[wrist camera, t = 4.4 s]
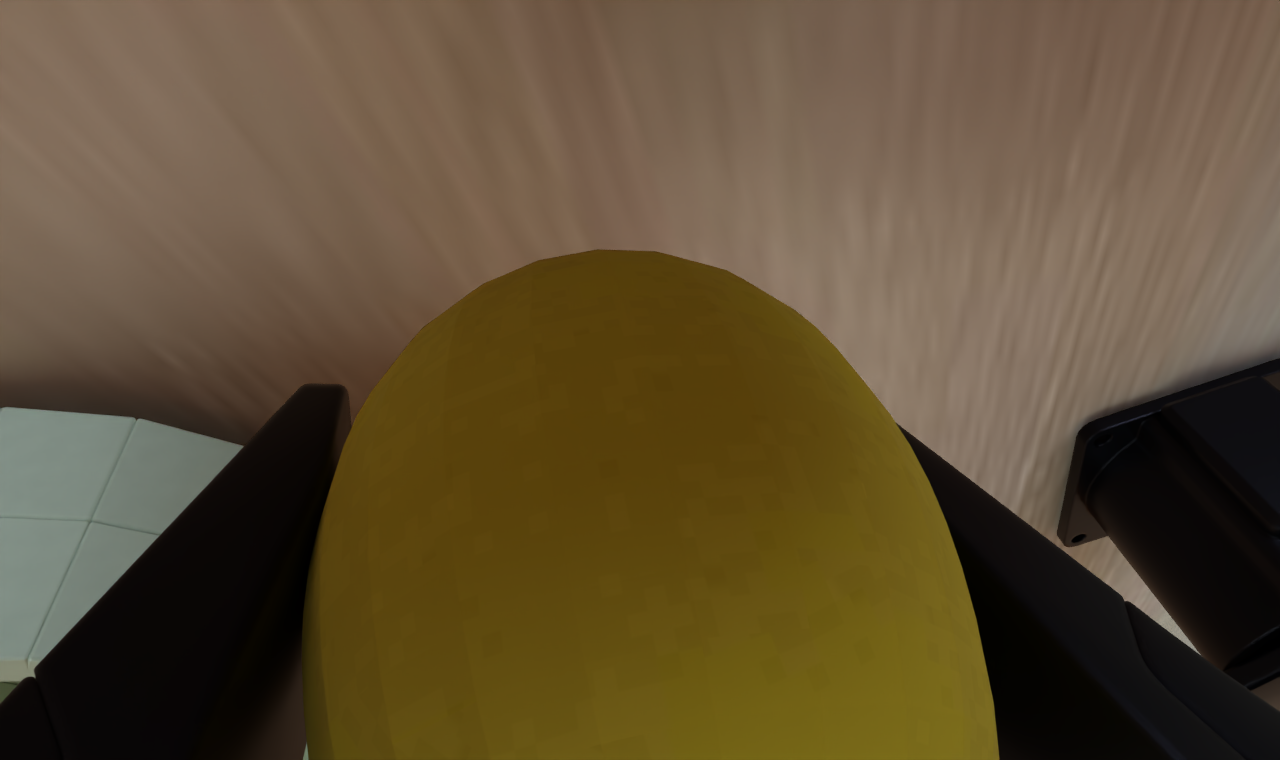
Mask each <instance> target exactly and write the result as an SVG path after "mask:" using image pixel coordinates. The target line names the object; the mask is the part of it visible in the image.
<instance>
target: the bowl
mask: <svg viewBox="0 0 1280 760" xmlns="http://www.w3.org/2000/svg"><path fill="white" fill-rule="evenodd" d="M243 447H244V446H242V445H239V444H235V443H231V442H227V441H224V440H220V439H216V438H212V437H209V436H205V435H201V434H198V433H194V432H190V431H186V430H183V429H179V428H175V427H171V426H168V425H164V424H160V423H156V422H153V421H149V420H145V419H138V420H136V419H135V418H133V417H125V416H113V415H101V414H88V413H76V412H64V411H52V410H40V409H28V408H16V407H3V408H0V703H1V702H2V701H3V700H4V699H5V698H6V697H7V696H8V695H9V694H10V692H11V691H12V690H13V689H14V688H15V687H16V686H17V685H18V684H19V683H20V682H21V681H22V680H23V679H24V678H26V677H29V676H32V677H35V674H34V668H35V667H36V666H37V665H38V664H39V662H40V661H41V660H42V659H43V658H44V657H45V656H46V655H47V654H48V653H49V652H50V651H51V650H52V649H53V648H54V647H55V646H56V644H57V643H58V642H59V641H60V640H61V639H62V638H63V637H64V636H65V635H66V634H67V633H68V632H69V631H70V630H71V629H72V628H73V627H74V625H75V624H76V623H77V622H78V621H79V620H80V619H81V618H82V617H83V616H84V615H85V614H86V613H87V612H88V611H89V610H90V609H91V607H92V606H93V605H94V604H95V603H96V602H97V601H98V600H99V599H100V598H101V597H102V596H103V595H104V594H105V593H106V592H107V591H108V590H109V588H110V587H111V586H112V585H113V584H114V583H115V582H116V581H117V580H118V579H119V578H120V577H121V576H122V575H123V574H124V573H125V572H126V570H127V569H128V568H129V567H130V566H131V565H132V564H133V563H134V562H135V561H136V560H137V559H138V558H139V557H140V556H141V555H142V554H143V553H144V551H145V550H146V549H147V548H148V547H149V546H150V545H151V544H152V543H153V542H154V541H155V540H156V539H157V538H158V537H159V536H160V535H161V534H162V532H163V531H164V530H165V529H166V528H167V527H168V526H169V525H170V524H171V523H172V522H173V521H174V520H175V519H176V518H177V517H178V516H179V514H180V513H181V512H182V511H183V510H184V509H185V508H186V507H187V506H188V505H189V504H190V503H191V502H192V501H193V500H194V499H195V498H196V497H197V495H198V494H199V493H200V492H201V491H202V490H203V489H204V488H205V487H206V486H207V485H208V484H209V483H210V482H211V481H212V480H213V479H214V477H215V476H216V475H217V474H218V473H219V472H220V471H221V470H222V469H223V468H224V467H225V466H226V465H227V464H228V463H229V462H230V461H231V460H232V458H233V457H234V456H235V455H236V454H237V453H238V452H239V451H240V450H241V449H242V448H243ZM303 760H309V758H308V748H307V744H306V749H305V753H304V758H303Z"/></svg>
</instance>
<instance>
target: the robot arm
mask: <svg viewBox="0 0 1280 760" xmlns="http://www.w3.org/2000/svg"><path fill="white" fill-rule="evenodd" d="M896 424H897V423H896ZM897 426H898V427H899V429H900V430H901V432H902V433H903V435H904V437H905V438H906V440H907V441H908V443H909V444H910V446H911V448H912V450H913V452H914V453H915V455H916V457H917V459H918V461H919V463H920V465H921V467H922V469H923V471H924V473H925V474H926V476H927V478H928V480H929V482H930V485H931V487H932V489H933V492H934V494H935V496H936V499H937V501H938V503H939V506H940V508H941V511H942V513H943V515H944V518H945V520H946V522H947V525H948V528H949V531H950V534H951V537H952V540H953V543H954V546H955V549H956V551H957V554H958V557H959V560H960V563H961V566H962V569H963V573H964V576H965V580H966V584H967V587H968V591H969V594H970V598H971V602H972V605H973V609H974V612H975V616H976V620H977V625H978V630H979V635H980V639H981V644H982V649H983V654H984V659H985V664H986V668H987V673H988V678H989V683H990V688H991V692H992V697H993V702H994V711H995V721H996V731H997V740H998V750H999V760H1280V358H1278V359H1275V360H1272V361H1269V362H1266V363H1263V364H1260V365H1257V366H1255V367H1252V368H1249V369H1246V370H1243V371H1240V372H1237V373H1234V374H1231V375H1228V376H1225V377H1222V378H1219V379H1216V380H1213V381H1210V382H1207V383H1204V384H1201V385H1198V386H1195V387H1192V388H1189V389H1186V390H1183V391H1180V392H1177V393H1174V394H1171V395H1168V396H1165V397H1162V398H1159V399H1156V400H1153V401H1150V402H1147V403H1144V404H1141V405H1138V406H1135V407H1132V408H1129V409H1126V410H1123V411H1120V412H1117V413H1114V414H1111V415H1108V416H1105V417H1102V418H1099V419H1096V420H1094V421H1092V422H1090V423H1088V424H1087V425H1085V426H1084V427H1083V428H1082V429H1081V430H1080V431H1079V432H1078V434H1077V437H1076V442H1075V447H1074V452H1073V457H1072V461H1071V466H1070V471H1069V476H1068V481H1067V486H1066V491H1065V496H1064V501H1063V506H1062V511H1061V516H1060V521H1059V525H1058V530H1057V536H1058V537H1059V539H1060V540H1061V541H1062V543H1063V544H1064V546H1066V547H1073V546H1078V545H1081V544H1084V543H1087V542H1090V541H1093V540H1096V539H1099V538H1102V537H1106V536H1109V538H1110V539H1111V540H1112V541H1113V543H1114V544H1115V545H1116V547H1117V548H1118V549H1119V550H1120V552H1121V553H1122V554H1123V556H1124V557H1125V558H1126V559H1127V561H1128V562H1129V563H1130V565H1131V566H1132V567H1133V568H1134V570H1135V571H1136V572H1137V574H1138V575H1139V576H1140V577H1141V579H1142V580H1143V581H1144V583H1145V584H1146V585H1147V586H1148V588H1149V589H1150V590H1151V592H1152V593H1153V594H1154V595H1155V597H1156V598H1157V599H1158V601H1159V602H1160V603H1161V604H1162V606H1163V607H1164V608H1165V610H1166V611H1167V612H1168V613H1169V615H1170V616H1171V617H1172V619H1173V620H1174V621H1175V622H1176V624H1177V625H1178V626H1179V627H1180V629H1181V630H1182V631H1183V633H1184V634H1185V635H1186V636H1187V638H1188V639H1189V640H1190V642H1191V643H1192V644H1193V645H1194V647H1195V648H1196V649H1197V651H1198V652H1199V653H1200V654H1201V655H1199V654H1198V653H1197V652H1195V651H1194V650H1193V649H1191V648H1190V647H1189V646H1187V645H1186V644H1185V643H1183V642H1182V641H1181V640H1179V639H1178V638H1177V637H1175V636H1174V635H1173V634H1171V633H1170V632H1168V631H1167V630H1166V629H1164V628H1163V627H1162V626H1160V625H1159V624H1158V623H1157V622H1155V621H1154V620H1153V619H1151V618H1150V617H1149V616H1148V615H1146V614H1145V613H1144V612H1142V611H1141V610H1140V609H1138V608H1137V607H1136V606H1135V605H1133V604H1132V603H1131V602H1128V601H1124V599H1123V597H1122V596H1121V595H1120V594H1119V593H1117V592H1116V591H1115V590H1113V589H1112V588H1111V587H1110V586H1108V585H1107V584H1106V583H1104V582H1103V581H1102V580H1100V579H1099V578H1098V577H1096V576H1095V575H1094V574H1093V573H1091V572H1090V571H1089V570H1087V569H1086V568H1085V567H1083V566H1082V565H1081V564H1079V563H1078V562H1077V561H1076V560H1074V559H1073V558H1072V557H1070V556H1069V555H1068V554H1066V553H1065V552H1064V551H1063V550H1061V549H1060V548H1059V547H1057V546H1056V545H1055V544H1053V543H1052V542H1051V541H1049V540H1048V539H1047V538H1046V537H1044V536H1043V535H1042V534H1040V533H1039V532H1038V531H1036V530H1035V529H1034V528H1033V527H1031V526H1030V525H1029V524H1027V523H1026V522H1025V521H1023V520H1022V519H1021V518H1019V517H1018V516H1017V515H1016V514H1014V513H1013V512H1012V511H1010V510H1009V509H1008V508H1006V507H1005V506H1004V505H1002V504H1001V503H1000V502H999V501H997V500H996V499H995V498H993V497H992V496H991V495H989V494H988V493H987V492H986V491H984V490H983V489H982V488H980V487H979V486H978V485H976V484H975V483H974V482H972V481H971V480H970V479H969V478H967V477H966V476H965V475H963V474H962V473H961V472H959V471H958V470H957V469H955V468H954V467H953V466H952V465H950V464H949V463H948V462H946V461H945V460H944V459H942V458H941V457H940V456H939V455H937V454H936V453H935V452H933V451H932V450H931V449H929V448H928V447H927V446H925V445H924V444H923V443H922V442H920V441H919V440H918V439H916V438H915V437H914V436H912V435H911V434H910V433H909V432H907V431H906V430H905V429H903V428H902V427H901V426H899V425H898V424H897ZM351 428H352V427H351V416H350V406H349V396H348V391H347V389H346V388H345V387H344V386H343V385H340V384H305V385H303V386H301V387H300V388H299V389H298V390H297V391H296V392H295V393H294V394H293V395H292V396H291V397H290V398H289V399H288V400H287V401H286V402H285V404H284V405H283V406H282V407H281V408H280V409H279V410H278V411H277V412H276V413H275V414H274V415H273V416H272V417H271V418H270V419H269V420H268V421H267V423H266V424H265V425H264V426H263V427H262V428H261V429H260V430H259V431H258V432H257V433H256V434H255V435H254V436H253V437H252V438H251V439H250V440H249V442H248V443H247V444H246V445H245V446H244V447H243V448H242V449H241V450H240V451H239V452H238V453H237V454H236V455H235V456H234V457H233V458H232V460H231V461H230V462H229V463H228V464H227V465H226V466H225V467H224V468H223V469H222V470H221V471H220V472H219V473H218V474H217V475H216V476H215V477H214V479H213V480H212V481H211V482H210V483H209V484H208V485H207V486H206V487H205V488H204V489H203V490H202V491H201V492H200V493H199V494H198V495H197V497H196V498H195V499H194V500H193V501H192V502H191V503H190V504H189V505H188V506H187V507H186V508H185V509H184V510H183V511H182V512H181V513H180V514H179V516H178V517H177V518H176V519H175V520H174V521H173V522H172V523H171V524H170V525H169V526H168V527H167V528H166V529H165V530H164V531H163V532H162V534H161V535H160V536H159V537H158V538H157V539H156V540H155V541H154V542H153V543H152V544H151V545H150V546H149V547H148V548H147V549H146V550H145V551H144V553H143V554H142V555H141V556H140V557H139V558H138V559H137V560H136V561H135V562H134V563H133V564H132V565H131V566H130V567H129V568H128V569H127V570H126V572H125V573H124V574H123V575H122V576H121V577H120V578H119V579H118V580H117V581H116V582H115V583H114V584H113V585H112V586H111V587H110V588H109V590H108V591H107V592H106V593H105V594H104V595H103V596H102V597H101V598H100V599H99V600H98V601H97V602H96V603H95V604H94V605H93V606H92V607H91V609H90V610H89V611H88V612H87V613H86V614H85V615H84V616H83V617H82V618H81V619H80V620H79V621H78V622H77V623H76V624H75V625H74V627H73V628H72V629H71V630H70V631H69V632H68V633H67V634H66V635H65V636H64V637H63V638H62V639H61V640H60V641H59V642H58V643H57V644H56V646H55V647H54V648H53V649H52V650H51V651H50V652H49V653H48V654H47V655H46V656H45V657H44V658H43V659H42V660H41V661H40V662H39V664H38V665H37V666H36V667H35V668H34V674H35V677H32V676H29V677H26V678H24V679H23V680H22V681H21V682H20V683H19V684H18V685H17V686H16V687H15V688H14V689H13V690H12V691H11V692H10V694H9V695H8V696H7V697H6V698H5V699H4V700H3V701H2V702H1V703H0V760H303V758H304V753H305V749H306V744H307V739H306V729H305V720H304V708H303V683H302V631H303V610H304V601H305V593H306V584H307V575H308V569H309V564H310V559H311V555H312V550H313V545H314V541H315V537H316V533H317V529H318V525H319V522H320V519H321V516H322V512H323V509H324V506H325V503H326V500H327V497H328V493H329V490H330V487H331V484H332V481H333V478H334V475H335V471H336V468H337V465H338V462H339V459H340V456H341V453H342V450H343V446H344V444H345V442H346V439H347V437H348V435H349V432H350V430H351Z"/></svg>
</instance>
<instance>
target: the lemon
mask: <svg viewBox="0 0 1280 760" xmlns="http://www.w3.org/2000/svg"><path fill="white" fill-rule="evenodd" d="M302 683H303V708H304V720H305V729H306V739H307V748H308V758H309V760H999V750H998V740H997V731H996V721H995V711H994V702H993V697H992V692H991V688H990V683H989V678H988V673H987V668H986V664H985V659H984V654H983V649H982V644H981V639H980V635H979V630H978V625H977V620H976V616H975V612H974V609H973V605H972V602H971V598H970V594H969V591H968V587H967V584H966V580H965V576H964V573H963V569H962V566H961V563H960V560H959V557H958V554H957V551H956V549H955V546H954V543H953V540H952V537H951V534H950V531H949V528H948V525H947V522H946V520H945V518H944V515H943V513H942V511H941V508H940V506H939V503H938V501H937V499H936V496H935V494H934V492H933V489H932V487H931V485H930V482H929V480H928V478H927V476H926V474H925V473H924V471H923V469H922V467H921V465H920V463H919V461H918V459H917V457H916V455H915V453H914V452H913V450H912V448H911V446H910V444H909V443H908V441H907V440H906V438H905V437H904V435H903V433H902V432H901V430H900V429H899V427H898V426H897V424H896V423H895V421H894V420H893V418H892V416H891V415H890V414H889V412H888V411H887V410H886V409H885V407H884V406H883V405H882V403H881V402H880V401H879V400H878V398H877V397H876V396H875V395H874V393H873V392H872V391H871V390H870V388H869V387H868V386H867V385H866V383H865V382H864V381H863V380H862V379H861V377H860V376H859V375H858V374H857V372H856V371H855V370H854V369H853V368H852V366H851V365H850V364H849V363H848V362H847V360H846V359H845V358H844V357H843V356H842V354H841V353H840V352H839V351H838V349H837V348H836V347H835V346H834V345H833V344H832V343H831V342H830V341H829V340H828V339H827V338H826V337H825V336H824V335H823V334H822V333H821V332H820V331H819V330H818V329H817V328H816V327H815V326H814V325H813V324H811V323H810V322H809V321H808V320H806V319H805V318H804V317H803V316H801V315H800V314H799V313H798V312H796V311H795V310H794V309H792V308H791V307H789V306H787V305H786V304H784V303H782V302H781V301H779V300H777V299H776V298H774V297H772V296H771V295H769V294H767V293H766V292H764V291H762V290H761V289H759V288H757V287H755V286H754V285H752V284H750V283H749V282H747V281H745V280H744V279H742V278H740V277H738V276H736V275H734V274H733V273H731V272H729V271H727V270H724V269H720V268H716V267H713V266H709V265H705V264H702V263H698V262H694V261H690V260H687V259H683V258H679V257H676V256H672V255H668V254H664V253H660V252H655V251H626V250H592V251H587V252H581V253H576V254H570V255H565V256H559V257H554V258H549V259H543V260H538V261H536V262H533V263H531V264H529V265H526V266H524V267H522V268H519V269H517V270H515V271H512V272H510V273H507V274H505V275H503V276H500V277H498V278H496V279H493V280H491V281H489V282H486V283H484V284H483V285H481V286H480V287H478V288H477V289H475V290H474V291H472V292H471V293H469V294H468V295H467V296H465V297H464V298H463V299H461V300H460V301H459V302H457V303H456V304H454V305H453V306H452V307H450V308H449V309H448V310H446V311H445V312H444V313H442V314H441V315H439V316H438V317H437V318H435V319H434V320H433V321H431V322H430V323H428V324H427V325H426V326H424V327H423V328H422V329H421V330H420V332H419V333H418V334H417V335H416V336H415V337H414V338H413V340H412V341H411V342H410V343H409V344H408V345H407V347H406V348H405V349H404V350H403V352H402V353H401V354H400V356H399V357H398V358H397V359H396V361H395V362H394V363H393V364H392V366H391V367H390V368H389V370H388V371H387V372H386V373H385V375H384V376H383V377H382V378H381V380H380V381H379V382H378V384H377V385H376V386H375V387H374V389H373V390H372V391H371V393H370V395H369V396H368V398H367V400H366V401H365V403H364V405H363V406H362V408H361V410H360V411H359V413H358V415H357V417H356V419H355V421H354V423H353V426H352V428H351V430H350V432H349V435H348V437H347V439H346V442H345V444H344V446H343V450H342V453H341V456H340V459H339V462H338V465H337V468H336V471H335V475H334V478H333V481H332V484H331V487H330V490H329V493H328V497H327V500H326V503H325V506H324V509H323V512H322V516H321V519H320V522H319V525H318V529H317V533H316V537H315V541H314V545H313V550H312V555H311V559H310V564H309V569H308V575H307V584H306V593H305V601H304V610H303V631H302Z"/></svg>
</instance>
